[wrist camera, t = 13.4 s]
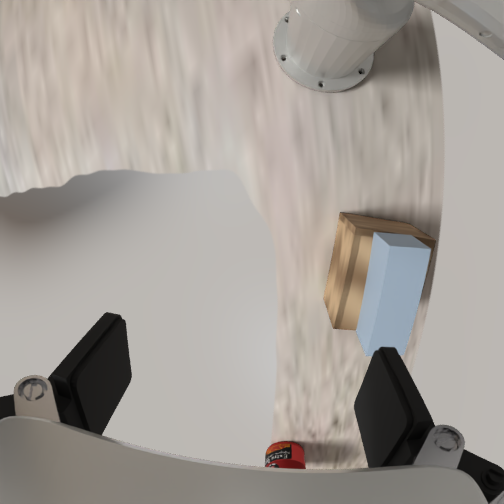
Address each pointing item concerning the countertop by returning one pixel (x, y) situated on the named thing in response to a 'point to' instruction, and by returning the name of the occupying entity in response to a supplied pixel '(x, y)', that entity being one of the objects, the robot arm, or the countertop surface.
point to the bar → (392, 291)
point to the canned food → (285, 456)
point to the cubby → (358, 264)
